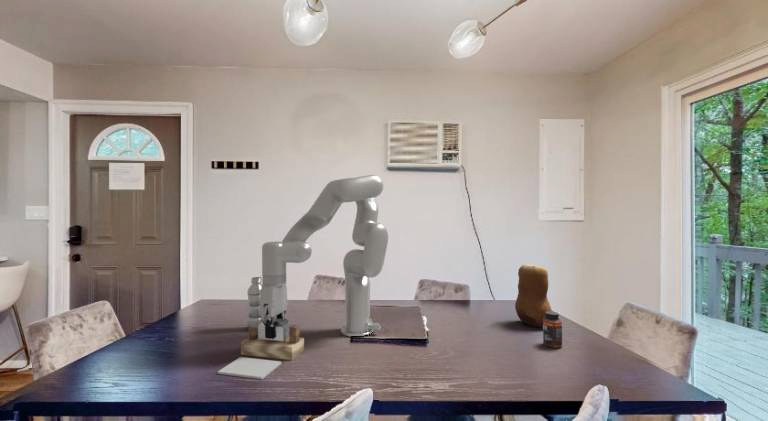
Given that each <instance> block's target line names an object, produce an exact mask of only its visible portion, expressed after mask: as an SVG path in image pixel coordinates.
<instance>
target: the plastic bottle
mask: <svg viewBox="0 0 768 421" xmlns="http://www.w3.org/2000/svg"><path fill="white" fill-rule="evenodd" d="M250 282H251V285H250V286H249V287H248V289H247V298H248V316H247V321H246V324H247V328H248V330H249V329H250V328H253V327H258V325H260V324H261V323H263V322H262V321H260V318H261V316H260V315H259V305H260V293H261V287H262V286H263V285H262V276H255V277H251V281H250Z"/></svg>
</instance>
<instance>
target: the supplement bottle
mask: <svg viewBox="0 0 768 421" xmlns="http://www.w3.org/2000/svg"><path fill="white" fill-rule="evenodd" d="M542 333H543V334H542V336H543V339H542V340H543V341H542V342H543V343H542V344H544V346H546V347H548V348H551V349H552V348H553V349H559V348H562V347H563V322H562V320H561V319H560V316H559V312H557V311H547V312H546V317H545V318H544V319H543V326H542Z"/></svg>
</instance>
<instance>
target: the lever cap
mask: <svg viewBox="0 0 768 421" xmlns="http://www.w3.org/2000/svg"><path fill="white" fill-rule="evenodd" d="M273 326H275V338H274V339H267V338H265V326H264V324H263V323H261V324H260V325H258V339H262V340H274V341H285V340H286V339H287V338H289V327H290V326H292V321H289V319H288V318H285V319H277V318H276V317H275V318H274V325H273Z"/></svg>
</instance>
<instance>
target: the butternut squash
mask: <svg viewBox="0 0 768 421" xmlns="http://www.w3.org/2000/svg"><path fill="white" fill-rule="evenodd" d="M517 275H518V282H517V283H518V284H517V292H518V294H517V297H516V301H515V304H514V309H515V311H516V315H517V317H518V318H519V320H520V321H521V322H522V323H524V324H527V325H529V326H530V327H535V328H538V327H543V319H544V318H545V317H546V312H547V311H552V307H551V304H550V301H549V298H548V292H549V291H548V290H549V274H548V270H547V269H546V268H545V267H544V266H540V265H536V264H534V263H533V264H532V263H527V264H525V263H524V264H522V265H520V267H519V269H518V272H517Z"/></svg>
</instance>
